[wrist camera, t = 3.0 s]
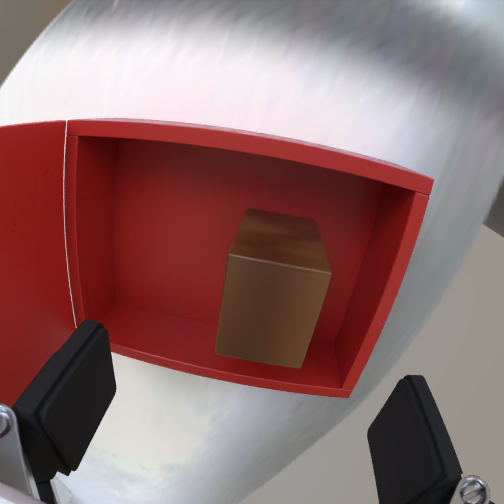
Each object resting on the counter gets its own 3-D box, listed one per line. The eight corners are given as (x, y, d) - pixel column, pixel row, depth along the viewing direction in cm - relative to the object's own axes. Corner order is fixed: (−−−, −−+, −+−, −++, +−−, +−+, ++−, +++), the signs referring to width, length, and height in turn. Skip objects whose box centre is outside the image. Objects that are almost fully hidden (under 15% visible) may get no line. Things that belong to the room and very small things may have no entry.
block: (315, 219, 18) (332, 273, 12) (297, 294, 20) (300, 369, 14) (247, 207, 18) (227, 253, 12) (235, 282, 20) (213, 354, 14)
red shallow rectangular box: (396, 164, 17) (434, 179, 12) (338, 347, 22) (348, 398, 18) (116, 118, 18) (67, 120, 13) (112, 301, 23) (78, 341, 18)
